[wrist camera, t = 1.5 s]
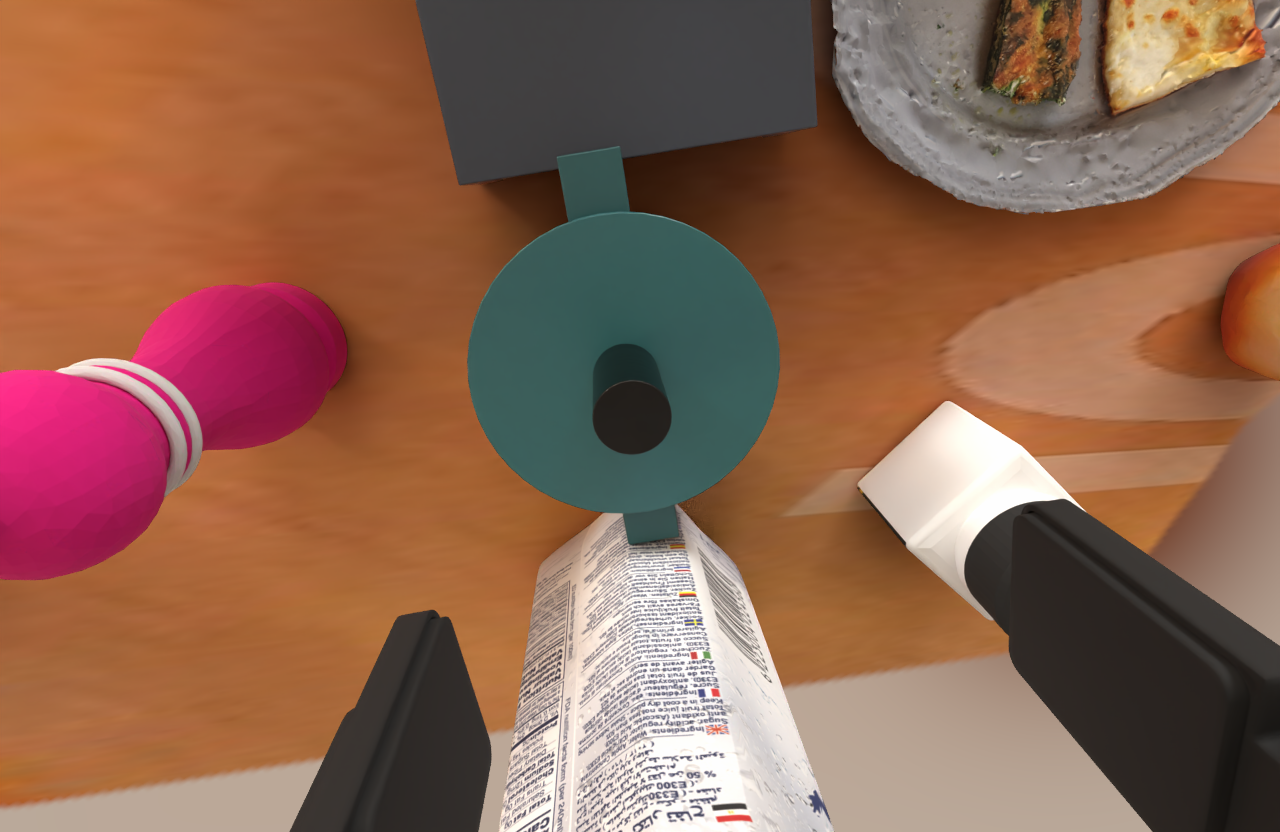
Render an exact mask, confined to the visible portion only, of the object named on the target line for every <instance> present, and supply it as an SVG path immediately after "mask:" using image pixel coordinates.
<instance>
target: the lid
mask: <svg viewBox="0 0 1280 832" xmlns="http://www.w3.org/2000/svg"><path fill="white" fill-rule="evenodd" d="M467 364H468V382H469V388H470V393H471V398H472V402H473V405H474V408H475V411H476V414H477V417H478V420H479V422H480V424H481V426H482V428H483V430H484V432H485V434H486V436H487V438H488V439H489V441H490V443H491V444H492V446H493V447H494V449H495V450H496V452H497V453H498V454H499V455H500V456H501V458H502V459H503V460H504V461H505V462H506V463H507V465H508V466H509V467H510V468H511V469H512V470H513V471H515V472H516V473H517V474H518V475H519V476H520V477H521V478H522V479H524V480H525V481H526V482H528V483H529V484H531V485H532V486H533V487H535V488H536V489H538V490H539V491H541V492H543V493H545V494H547V495H549V496H550V497H552V498H554V499H556V500H559V501H561V502H564V503H567V504H569V505H572V506H575V507H579V508H583V509H587V510H591V511H597V512H605V513H629V514H630V513H640V512H649V511H653V510H658V509H662V508H666V507H670V506H672V505H675V504H678V503H681V502H684V501H686V500H688V499H690V498H692V497H694V496H696V495H698V494H700V493H702V492H704V491H705V490H707V489H708V488H710V487H711V486H713V485H715V484H716V483H718V482H719V481H720V480H721V479H722V478H724V477H725V476H726V475H727V474H728V473H730V472H731V471H732V470H733V469H734V468H735V467H736V466H737V465H738V464H739V463H740V461H741V460H742V459H743V458H744V457H745V456H746V455H747V453H748V452H749V451H750V449H751V448H752V446H753V445H754V444H755V442H756V441H757V439H758V437H759V435H760V434H761V432H762V430H763V428H764V426H765V425H766V422H767V420H768V417H769V415H770V412H771V410H772V407H773V403H774V400H775V396H776V392H777V387H778V379H779V371H780V355H779V343H778V337H777V330H776V327H775V323H774V320H773V316H772V313H771V310H770V308H769V306H768V303H767V301H766V299H765V297H764V294H763V292H762V291H761V289H760V288H759V286H758V284H757V283H756V281H755V280H754V278H753V276H752V275H751V274H750V272H749V271H748V270H747V269H746V268H745V267H744V265H743V264H742V263H741V262H740V261H739V259H738V258H736V257H735V256H734V255H733V254H732V253H731V252H730V251H729V250H727V249H726V248H725V247H724V246H723V245H722V244H720V243H719V242H717V241H716V240H714V239H713V238H711V237H710V236H708V235H707V234H705V233H704V232H702V231H700V230H698V229H695V228H693V227H691V226H689V225H687V224H685V223H683V222H680V221H677V220H674V219H671V218H667V217H664V216H660V215H654V214H649V213H643V212H622V211H620V212H609V213H599V214H595V215H590V216H586V217H582V218H578V219H575V220H572V221H570V222H567V223H565V224H562V225H559V226H557V227H555V228H553V229H552V230H550V231H548V232H546V233H544V234H543V235H541V236H539V237H537V238H536V239H535V240H533V241H532V242H531V243H529V244H528V245H527V246H525V247H524V248H523V249H521V250H520V251H519V252H518V253H517V254H516V255H515V256H514V257H513V258H512V259H511V260H510V261H509V262H508V263H507V264H506V265H505V266H504V268H503V269H502V270H501V271H500V273H499V274H498V275H497V277H496V278H495V279H494V281H493V282H492V283H491V285H490V287H489V289H488V291H487V292H486V294H485V296H484V298H483V300H482V301H481V304H480V306H479V309H478V312H477V314H476V317H475V319H474V322H473V327H472V331H471V335H470V340H469V348H468V359H467Z"/></svg>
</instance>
